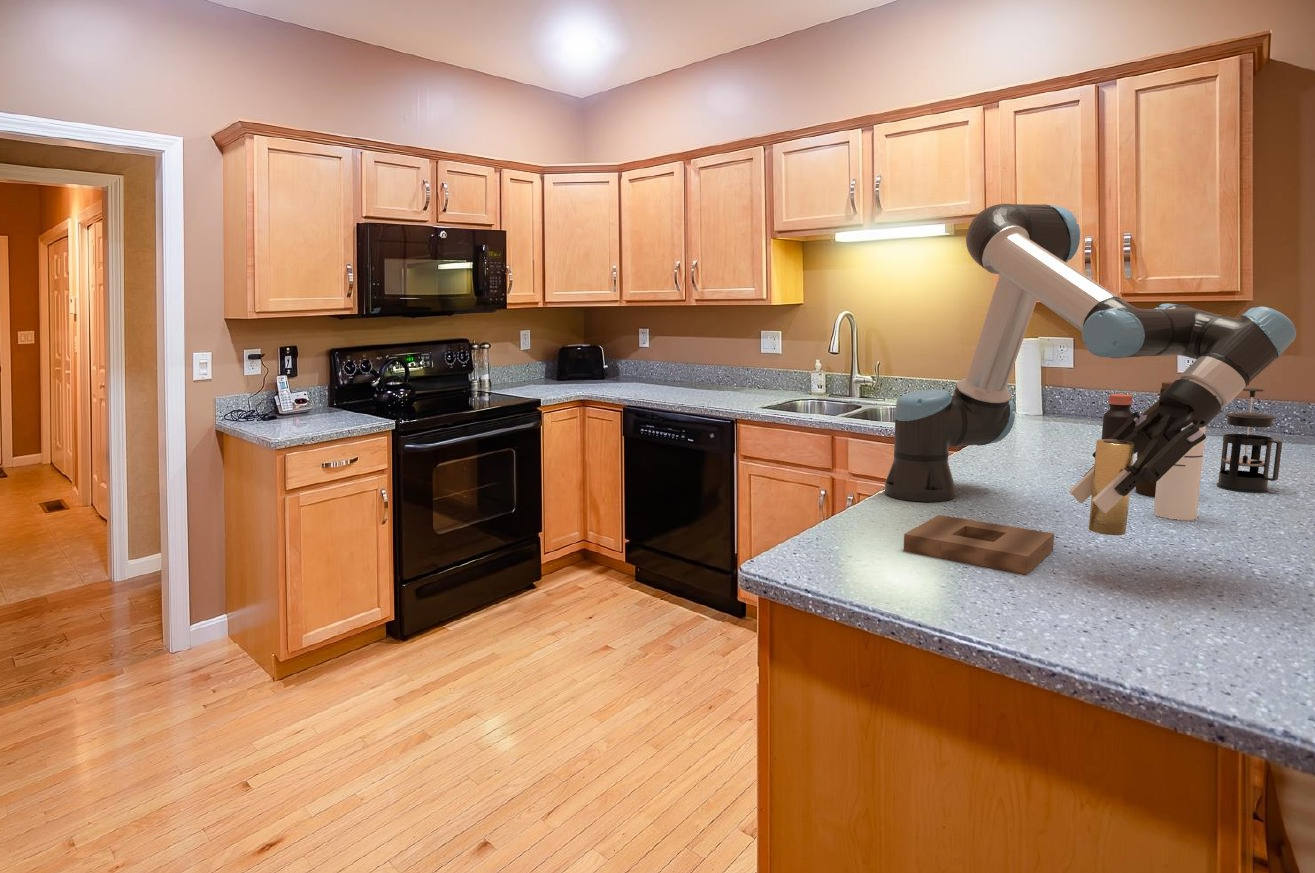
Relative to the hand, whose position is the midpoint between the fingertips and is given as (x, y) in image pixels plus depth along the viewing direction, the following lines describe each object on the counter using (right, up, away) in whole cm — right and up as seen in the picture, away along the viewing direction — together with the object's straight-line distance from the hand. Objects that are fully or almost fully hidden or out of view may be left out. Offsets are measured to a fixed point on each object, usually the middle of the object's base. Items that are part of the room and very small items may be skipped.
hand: (1086, 501), depth 117 cm
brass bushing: (+4, -5, +1) cm, 6 cm away
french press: (+68, -2, +57) cm, 89 cm away
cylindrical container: (+37, -6, +35) cm, 52 cm away
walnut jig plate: (-11, -10, +15) cm, 20 cm away
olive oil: (+47, -3, +53) cm, 71 cm away
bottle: (+49, 0, +74) cm, 88 cm away
